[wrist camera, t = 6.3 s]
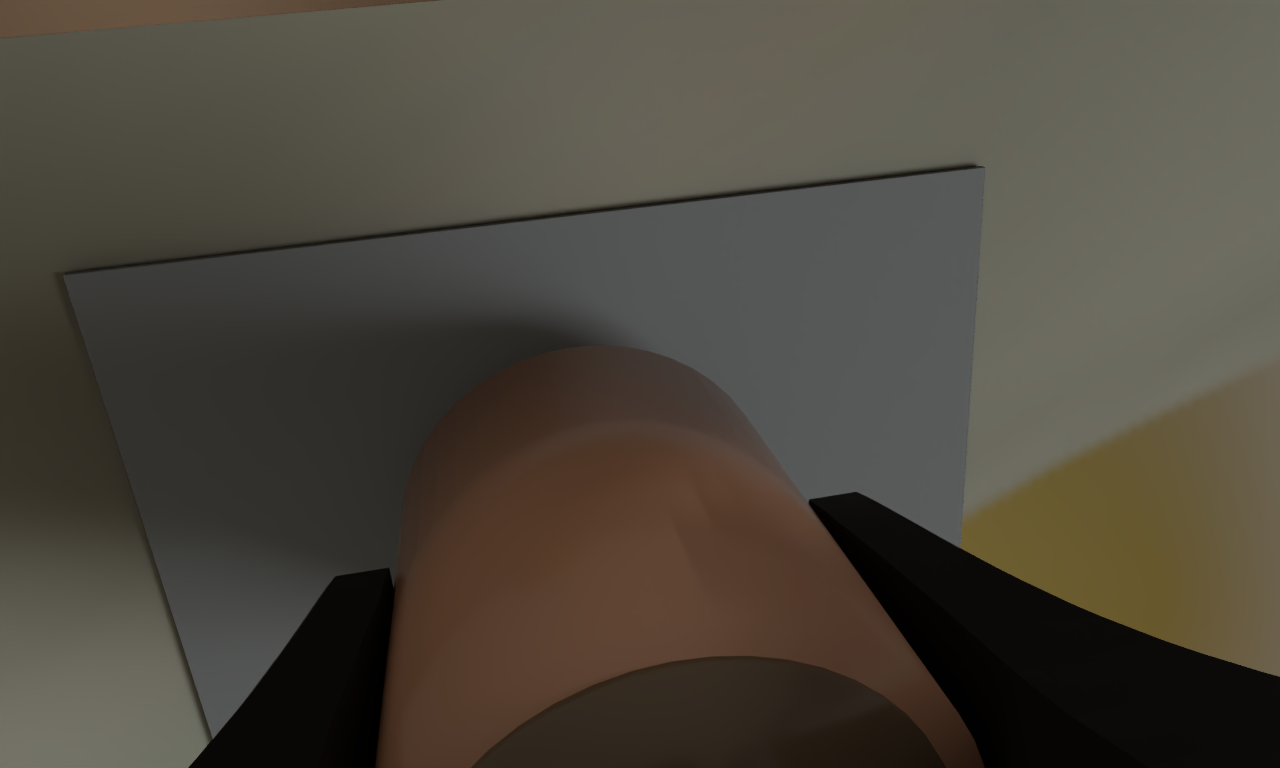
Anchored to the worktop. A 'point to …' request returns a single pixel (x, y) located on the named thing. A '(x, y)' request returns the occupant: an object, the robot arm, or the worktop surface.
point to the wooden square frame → (147, 12)
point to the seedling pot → (635, 592)
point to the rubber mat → (502, 336)
